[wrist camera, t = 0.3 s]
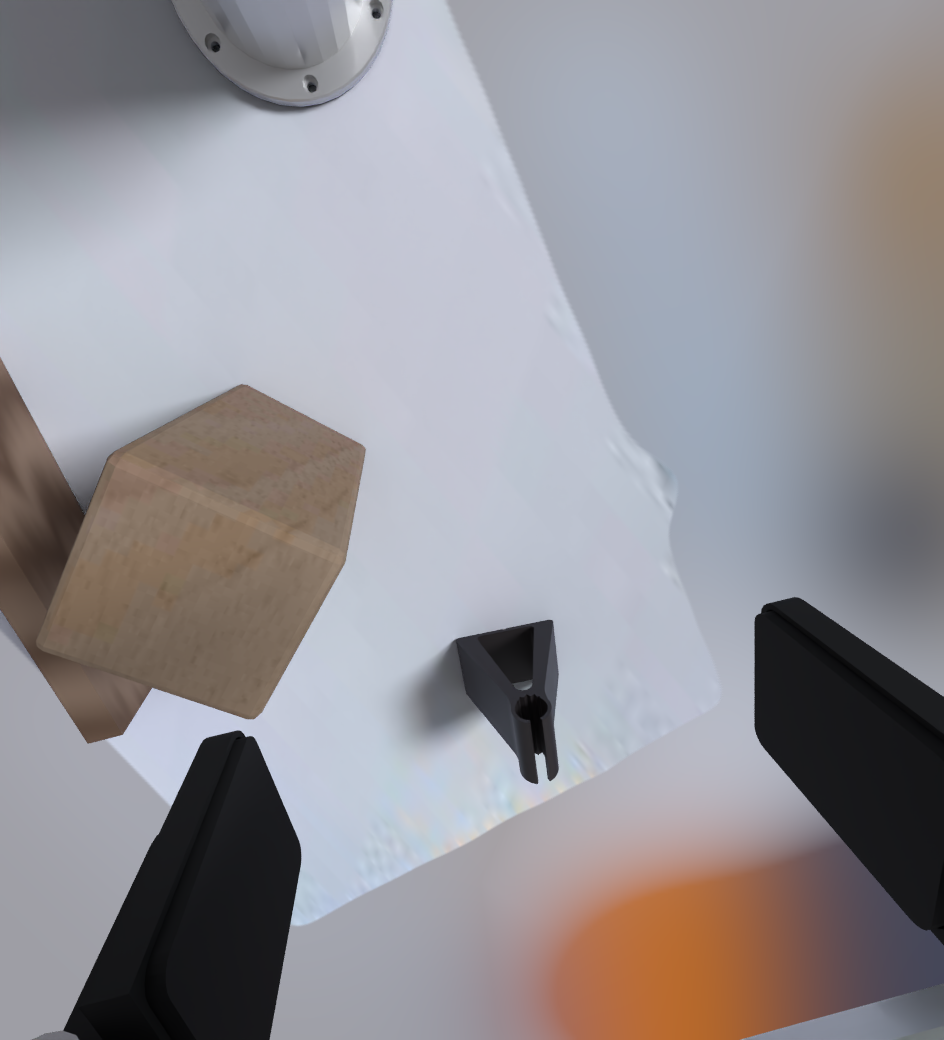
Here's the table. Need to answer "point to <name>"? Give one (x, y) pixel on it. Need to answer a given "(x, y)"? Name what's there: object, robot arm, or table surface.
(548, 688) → the phone stand
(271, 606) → the wooden block
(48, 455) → the walnut board
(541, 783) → the table surface
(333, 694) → the table surface
